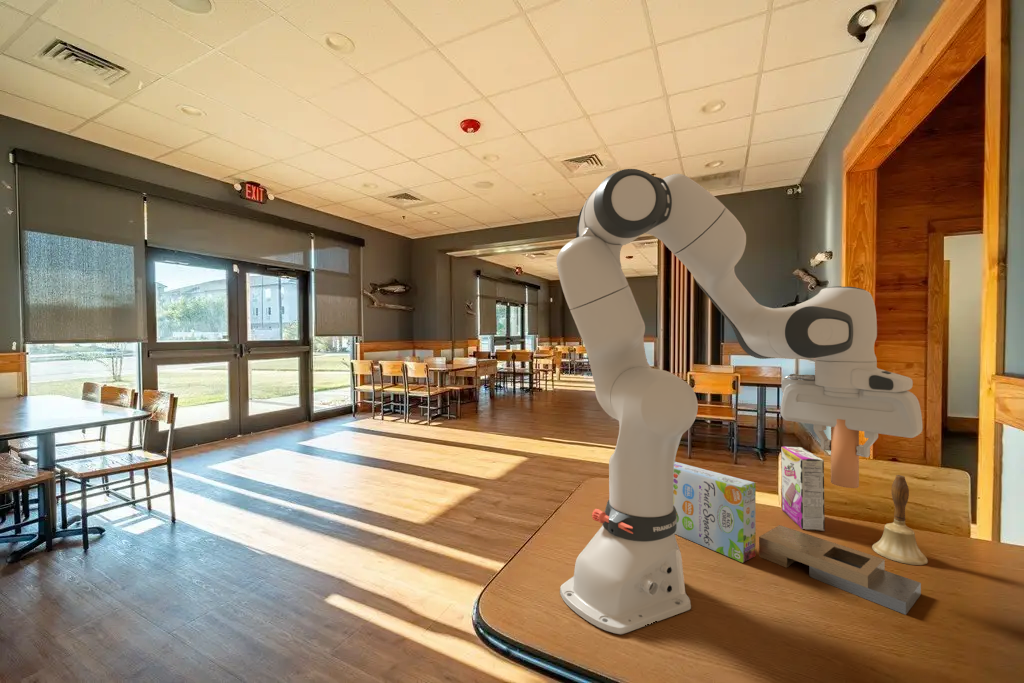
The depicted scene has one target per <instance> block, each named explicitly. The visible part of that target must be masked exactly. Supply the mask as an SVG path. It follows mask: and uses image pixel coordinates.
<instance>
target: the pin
mask: <svg viewBox="0 0 1024 683" xmlns="http://www.w3.org/2000/svg"><path fill="white" fill-rule="evenodd" d="M836 420H837V424H836V426H835V427H830V440H831V451H830V483H831V484H833V485H835V486H837V487H841V488H848V489H858V488H859V487H860V486H859V485H860V483H859V482H860V456H857V454H856V452H857V450H856V446H859V445H860V431H857V430H850V429H848V428H847V427H846V425H845V420H841V419H836Z"/></svg>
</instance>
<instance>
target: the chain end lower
mask: <svg viewBox="0 0 1024 683" xmlns="http://www.w3.org/2000/svg"><path fill="white" fill-rule="evenodd" d="M832 559H834V560H837V561H840V562H843V563H845V564H848V565H851V566H854V567H857V568H861V566H858V565H855V564H852V563H850V562H847V561H844V560H841V559H838V558H835V557H834V558H832ZM808 566H809V565H808ZM808 568H809V570H808V571H809V574H808V575H809V576H808V577H809V578H812V579H814V580H817V581H818V582H819V581H820V582H822V583H824V584H827V585H830V586H833V587H834V588H837V589H839V590H841V591H845V592H847V593H850V594H852V595H855V596H857V597H860V598H862V599H865V600H866V601H867V600H868V601H870V602H872V603H875V604H878V605H879V606H883V607H885V608H888V609H890V610H892V611H895V612H898V613H899V614H900V613H901V614H903V615H905V616H907V614H908V613H909V611H911V609H912V608H913V606H914V605H915V603H916V602H917V600H918V599H919V598H920V596H921V595H922V583H921V582H919V581H916V580H914V579H911V578H908V577H904V576H902V575H899V574H895V573H893V572H890V571H887V570H885V571H884V572H883V573H882V574H881V575H880V576H879V577H878V578H877V579H876V580H875V581H874V582H873V583H872V584H871V585H870V586H869V587H868V588H867V587H864V586H861V585H859V584H856V583H853V582H851V581H848V580H845V579H843V578H840V577H838V576H835V575H832V574H830V573H827V572H824V571H822V570H819V569H816V568H814V567H811V566H809V567H808Z"/></svg>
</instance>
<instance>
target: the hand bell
mask: <svg viewBox="0 0 1024 683" xmlns="http://www.w3.org/2000/svg"><path fill="white" fill-rule="evenodd" d="M907 483H908V482H907V481H906V477H905V476H904V475H900V474H896V475H895V478H894V480H893V481H892V485H891V498H892V501H893V503H894V514H893V522H889V523H886V524H884V528H883V533H882V536H881V538H880V539H879V540H878V541H877V542H874V543H873V544H872V546H871V549H872V550H873V551H874V552H875V553H876V554H878V555H879V556H882V557H884V558H886V559H887V560H891V561H894V562H896V563H902V564H905V565H912V566H923V565H927V564H928V563H929V560H928V558H927V556H926V555H925V554H924V553H923V552H922V551H921V549H920V548H919V545H918V544H917V540H916V536H915V531H914V530H913V529H912V528H911V527H909V526H907V525H906V506H907V504H908V502H909V497H910V489H909V486H908V484H907Z"/></svg>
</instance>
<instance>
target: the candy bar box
mask: <svg viewBox="0 0 1024 683" xmlns="http://www.w3.org/2000/svg"><path fill="white" fill-rule="evenodd" d="M780 452H781V453H780V455H781V456H780V457H781V461H780V462H781V464H780V465H781V510H782V511H783V512H784V513H785V514H786V515H787V516H788V517H789V518H790V519H791V520H792V521H793V522H794V523H795V524H796V525H798V527H799V528H800V529H801V530H803V529H805V530H806V531H815V530H816V531H818V532H825V531H826V530H825V529H826V528H825V526H826V525H825V524H826V523H825V518H826V517H825V460H824V459H822V458H821V457H819V456H817V455H815V454H814V453H812V452H810V451H809V450H807V449H805V448H803V447H801V446H781V448H780ZM805 530H804V531H805Z"/></svg>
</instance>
